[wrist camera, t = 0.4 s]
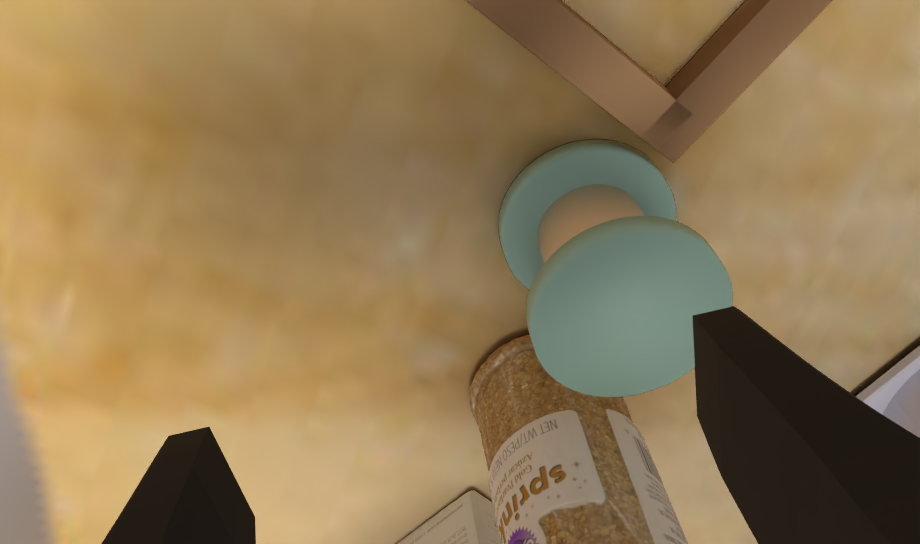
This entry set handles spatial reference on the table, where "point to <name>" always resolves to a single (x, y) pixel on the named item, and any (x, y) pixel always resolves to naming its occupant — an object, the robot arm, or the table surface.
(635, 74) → the u-shaped brown frame
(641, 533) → the spice jar
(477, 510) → the supplement box
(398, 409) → the table surface
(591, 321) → the bobbin
